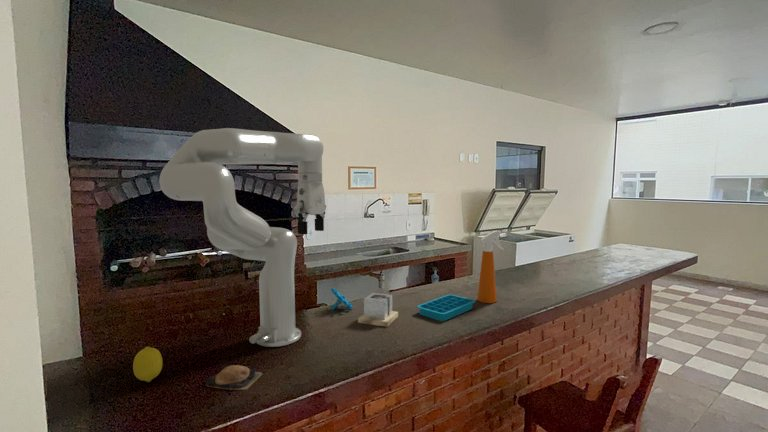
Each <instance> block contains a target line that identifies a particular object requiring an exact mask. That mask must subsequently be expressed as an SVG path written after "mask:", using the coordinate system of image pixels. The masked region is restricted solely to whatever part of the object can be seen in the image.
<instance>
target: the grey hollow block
mask: <svg viewBox="0 0 768 432" xmlns="http://www.w3.org/2000/svg"><path fill="white" fill-rule="evenodd" d="M375 297H382V298H383V299H374V298H375ZM392 311H393V294H387V293H378V292H377V293H376V292H372V293H370V294H369V295H367V296H366V297H364V298H363V314H364V317H367V318H374V319H382V320H385V319H386V318H387V317H388V315H391V314H392Z"/></svg>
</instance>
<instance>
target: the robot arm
mask: <svg viewBox="0 0 768 432" xmlns="http://www.w3.org/2000/svg"><path fill="white" fill-rule="evenodd" d="M323 154H324V144H323V142H322V140H321V139H320V138H319V137H318V136H317V135H315V134H307V133H295V132H293V133H292V132H291V133H290V132H280V131H265V130H254V129H242V128H233V127H231V128H230V127H224V128H216V129H215V128H212V129H202V130H199V131H197V132H195V134H193V135H192V136H191V137H189V138H188V139H187V140H186V141H185V142H184V144H183V145H182V146H181V147H180V148H179V149H178V150H177V152H176V153H175V154H174V155H173V156H172V157H171V158H170V160H169V161H168V162H167V163H166V164H165V166H164V167H163V168H162V170H161V172H160V174H159V187H160V189H161V191H162V193H163V194H164V195H165V196H167V198H169V199H172V200H175V201H183V202H185V201H187V202H188V201H189V202H190V201H191V202H202V204H203V216H204V217H203V218H204V224H205V226H206V235H207V237H208V240H209V242H210V243H211V244H212V246H214V247H215V248H217V249H219V250H220V251H224V252H226V253H228V254H231V255H233V256H236V257H239V258H241V259H245V260H250V261H261V262H262V261H263V262H264V266H263V267H262V269H261V271H260V274H259V277H258V287H259V289H258V290H259V291H258V292H259V315H260V316H259V317H260V319H259V320H260V323H259V324H260V326H258V328H257V329H258V331H257V333H255V334H254V335H251V336H250V337H249V343H251V344H257V345H259V346H261V347H266V348H267V347H268V348H269V347H270V348H274V347H275V348H276V347H283V346H288V345H291V344H294V343H296V342H297V341H299V339H301V337H302V331H301V329H299V328H298V327H296V304H295V303H296V299H295V298H296V297H295V294H296V293H295V291H296V290H295V289H296V288H295V264H296V263H295V262H296V254H297V248H298V240H297V237H296V234H294V232H293V231H292V230H290V229H287V228H284V227H277V226H276V227H275V226H270V225H269V224H268V222H267V221H266V220H264V219H263V218H262V217H261V216H259V215H257V214H255V213H254V212H252V211H250V210H248V209H247V208H245V207H243V206H242V205H240V204H239V203H238V202H237V197H236V190H235V189H236V188H235V185H236V184H235V181H234V177H233V175H232V173H231V171H230V170H229V169H228V168H227V167H226V166H225V165H270V164H271V165H273V164H282V163H297V176H298V177H297V178H298V179H297V180H298V187H297V193H296V194H297V195H296V205H295V206H294V207H293V212H294V217H295V218H296V220H295V221H296V222H297V234H298V235H308V221H307V219H308V216H314V217H315V218H314V231H318V232H319V231H320V232H323V231H324V230H325V224H324V223H325V221H324V220H325V217H326V216H325V215H326V210H327V205H326V197H325V188H324V184H323Z"/></svg>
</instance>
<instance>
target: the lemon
mask: <svg viewBox="0 0 768 432" xmlns="http://www.w3.org/2000/svg"><path fill="white" fill-rule="evenodd" d="M132 363H133V364H132V370H133V375H134V376H135V377H136V379H138V380H139V381H143V382H146V383H150V382H152V380H153V379H155V378H156V377H157V376H159V375H160V374H161V371H162V369H163V357H162V354H161V352H160V351H159V349H157V348H154V347H150V346H145V347H144V348H143V349H140V351H138V352H137V354H136V355H135V357H134V359H133V362H132Z"/></svg>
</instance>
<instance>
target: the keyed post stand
mask: <svg viewBox="0 0 768 432" xmlns="http://www.w3.org/2000/svg"><path fill="white" fill-rule="evenodd" d="M374 299H383V298H382V297H375V298H374ZM398 317H399V311H394V310H392V314H391V315H388V317H387V318H386V319H385V320H382V319H374V318H367V317H364V313H362V314H360V315H359V317H358V318H357V324H365V325H371V326H372V325H373V326H378V327H386V328H388V327H389V326H390V325H391V324H392V323H393V322H394V321H395V320H397V318H398Z"/></svg>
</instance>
